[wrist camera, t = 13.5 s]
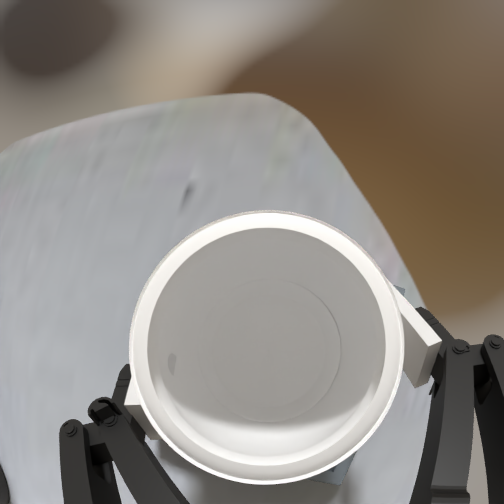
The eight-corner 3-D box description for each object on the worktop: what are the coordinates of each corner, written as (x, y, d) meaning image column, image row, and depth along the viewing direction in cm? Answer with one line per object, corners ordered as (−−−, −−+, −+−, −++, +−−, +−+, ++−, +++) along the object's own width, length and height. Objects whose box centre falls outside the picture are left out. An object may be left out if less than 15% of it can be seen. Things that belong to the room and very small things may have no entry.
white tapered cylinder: (326, 414, 22) (391, 480, 7) (203, 405, 22) (119, 458, 8) (333, 292, 25) (399, 214, 11) (215, 286, 26) (150, 203, 12)
